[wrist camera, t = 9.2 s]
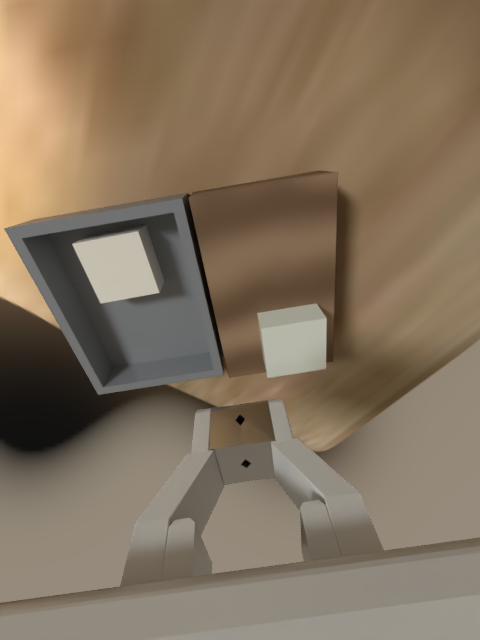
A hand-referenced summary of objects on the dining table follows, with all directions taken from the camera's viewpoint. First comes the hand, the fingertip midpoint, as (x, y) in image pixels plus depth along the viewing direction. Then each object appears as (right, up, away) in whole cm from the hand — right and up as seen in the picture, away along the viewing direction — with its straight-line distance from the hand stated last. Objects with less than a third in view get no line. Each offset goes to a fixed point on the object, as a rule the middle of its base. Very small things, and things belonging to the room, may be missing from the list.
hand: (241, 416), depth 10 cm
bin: (-9, +6, +16) cm, 19 cm away
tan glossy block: (+2, +7, +16) cm, 18 cm away
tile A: (-10, +7, +12) cm, 17 cm away
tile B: (+4, +2, +15) cm, 15 cm away
